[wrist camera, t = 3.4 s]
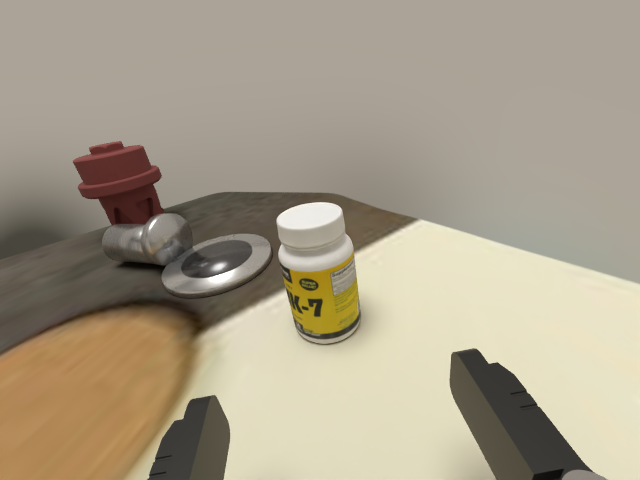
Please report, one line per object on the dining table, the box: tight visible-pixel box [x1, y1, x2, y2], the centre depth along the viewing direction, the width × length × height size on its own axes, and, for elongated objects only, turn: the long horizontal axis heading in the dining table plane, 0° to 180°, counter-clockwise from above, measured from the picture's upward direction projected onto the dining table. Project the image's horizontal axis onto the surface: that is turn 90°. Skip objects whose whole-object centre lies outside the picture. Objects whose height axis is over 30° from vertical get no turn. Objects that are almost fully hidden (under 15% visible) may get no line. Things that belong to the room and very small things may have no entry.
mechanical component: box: [73, 141, 164, 226], centre depth 43 cm, size 12×10×10 cm
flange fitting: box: [102, 213, 272, 298], centre depth 32 cm, size 19×11×6 cm, turn 71°
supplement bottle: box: [277, 202, 361, 344], centre depth 20 cm, size 5×5×8 cm
